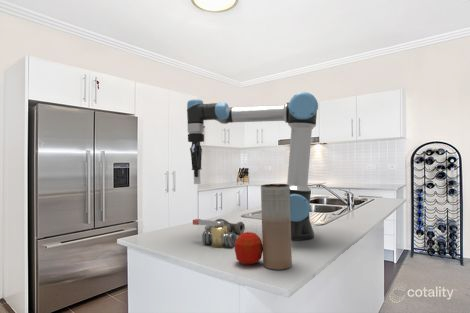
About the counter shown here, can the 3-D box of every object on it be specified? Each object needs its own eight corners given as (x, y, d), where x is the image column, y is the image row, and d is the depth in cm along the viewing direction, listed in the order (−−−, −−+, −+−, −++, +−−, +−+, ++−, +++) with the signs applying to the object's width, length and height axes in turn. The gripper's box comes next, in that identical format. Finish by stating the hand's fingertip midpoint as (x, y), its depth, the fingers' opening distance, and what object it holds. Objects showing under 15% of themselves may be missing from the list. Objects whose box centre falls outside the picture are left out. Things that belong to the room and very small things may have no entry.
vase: (259, 268, 99) (257, 186, 99) (267, 259, 108) (264, 183, 109) (289, 271, 95) (286, 186, 96) (294, 261, 105) (291, 183, 105)
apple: (241, 270, 98) (240, 235, 98) (230, 261, 107) (229, 229, 107) (268, 265, 102) (267, 231, 102) (255, 256, 111) (254, 226, 112)
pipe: (222, 248, 151) (204, 238, 140) (218, 233, 157) (201, 223, 147) (248, 233, 147) (232, 222, 137) (243, 218, 153) (228, 207, 143)
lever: (225, 225, 129) (225, 221, 129) (220, 227, 125) (220, 223, 125) (197, 222, 136) (197, 218, 136) (191, 224, 133) (191, 220, 133)
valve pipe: (237, 245, 128) (236, 226, 128) (229, 249, 121) (229, 230, 121) (210, 241, 134) (209, 224, 134) (201, 245, 128) (201, 227, 128)
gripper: (200, 131, 130) (201, 184, 130) (206, 134, 143) (208, 182, 143) (183, 132, 131) (185, 185, 131) (191, 134, 144) (193, 182, 144)
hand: (197, 183), depth 137 cm, fingers closed
